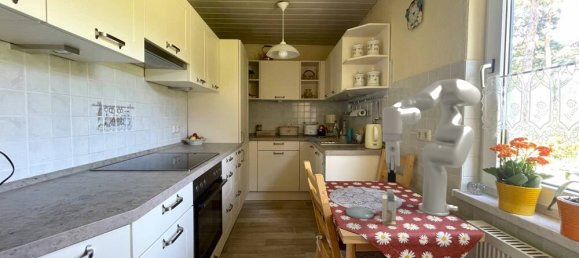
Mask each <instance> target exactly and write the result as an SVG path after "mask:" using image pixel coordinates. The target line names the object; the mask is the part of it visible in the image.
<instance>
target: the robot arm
mask: <svg viewBox="0 0 579 258" xmlns="http://www.w3.org/2000/svg"><path fill="white" fill-rule="evenodd" d="M481 96H482V95H481V91H480V90H479V88H477V86H476V85H475V86H474V84H471V83H470V82H468V81H466V80H464V79H461V78H450V79H449V78H448V79H441V80H437V81H434V82H433V83H431V84H430V85H428V86H427V87H425V88H424V89H423V90H421V91H420V92H418V93H415V94H413V95H410V96H408V97H404V98H403V99H400V100H398V101H397V102H395V103H394V104H392V105H391V106H390V107H388V106H387V107H384V108H383V110H382V142H384V143H385V161H386V166H387V167H388V168H387V170H388V171H387V183H391V184H392V183H394V184H396V182H397V172H396V171H397V170H396V169H397V168H396V167H398V168H399V167H400V165H401V164H400V163H401V162H400V160H401V159H400V158H401V152H400V151H401V148H400V146H401V145H400V143H402V142H403V125H405V126H411V125H415V124H418V123H419V122H420V120H421V119H422V112H424V111H429V110H432V108H435V107H436V106H437V105H438V104H440V107H441V112H442V116H441V118H440V120H439V122H438V125H437V127H436V129H435V131H434V135H433V140H434V141H435V142H436V143H435V142H434V143H427V144H426V145H425V146H423V147H422V151H421V157H422V162H423V163H422V164H423V180H422V181H423V182H422V183H423V185H422V204H420V205H418V210H419V211H420V212H422V213H425V214H427V215H430V216H438V217H446V216H449V215H450V211H455V212H458V211H459V208H458V206H456V205H454V204H448V203H447V187H448V186H447V185H448V183H447V182H448V173H447V170H446V168H445V167H449V168H453V169H454V168H455V169H458V168H461V167H462V166H463V165H464V164H465V163H466V161H467V158H468V156H469V154H470V151H471V149H472V146H473V144H474V140H475V131H474V129H473V128H472V127H471V126H470V125H467V124H462V122H463V115H462V113H461V112H460V110H459V109H458V107H472V106H475V105H477V104H478V103H480V101H481V98H482V97H481Z"/></svg>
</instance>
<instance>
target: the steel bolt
mask: <svg viewBox="0 0 579 258" xmlns="http://www.w3.org/2000/svg"><path fill="white" fill-rule="evenodd" d="M386 194H387V210H391V211H395V198H394V196H395V191H394V189H391V190H387V189H386Z"/></svg>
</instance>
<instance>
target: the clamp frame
mask: <svg viewBox="0 0 579 258" xmlns="http://www.w3.org/2000/svg"><path fill="white" fill-rule="evenodd" d="M387 190H392V188H386V191H387ZM385 195H387V193H386V194H385ZM381 221H382V222H381V223H382V225H385V226H391V227H397V223H396V221H392V211H391V210H387V216H386V220H383V219H381Z"/></svg>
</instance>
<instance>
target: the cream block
mask: <svg viewBox="0 0 579 258" xmlns="http://www.w3.org/2000/svg"><path fill="white" fill-rule="evenodd" d="M394 198H395V211H392V221H395V222H396V221H397V220H396V219H397V200H398V199H397V196H395V195H394ZM381 200H382V201H381V204H382V205H381V220H386V216H387V195H386V194H382V199H381Z"/></svg>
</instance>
